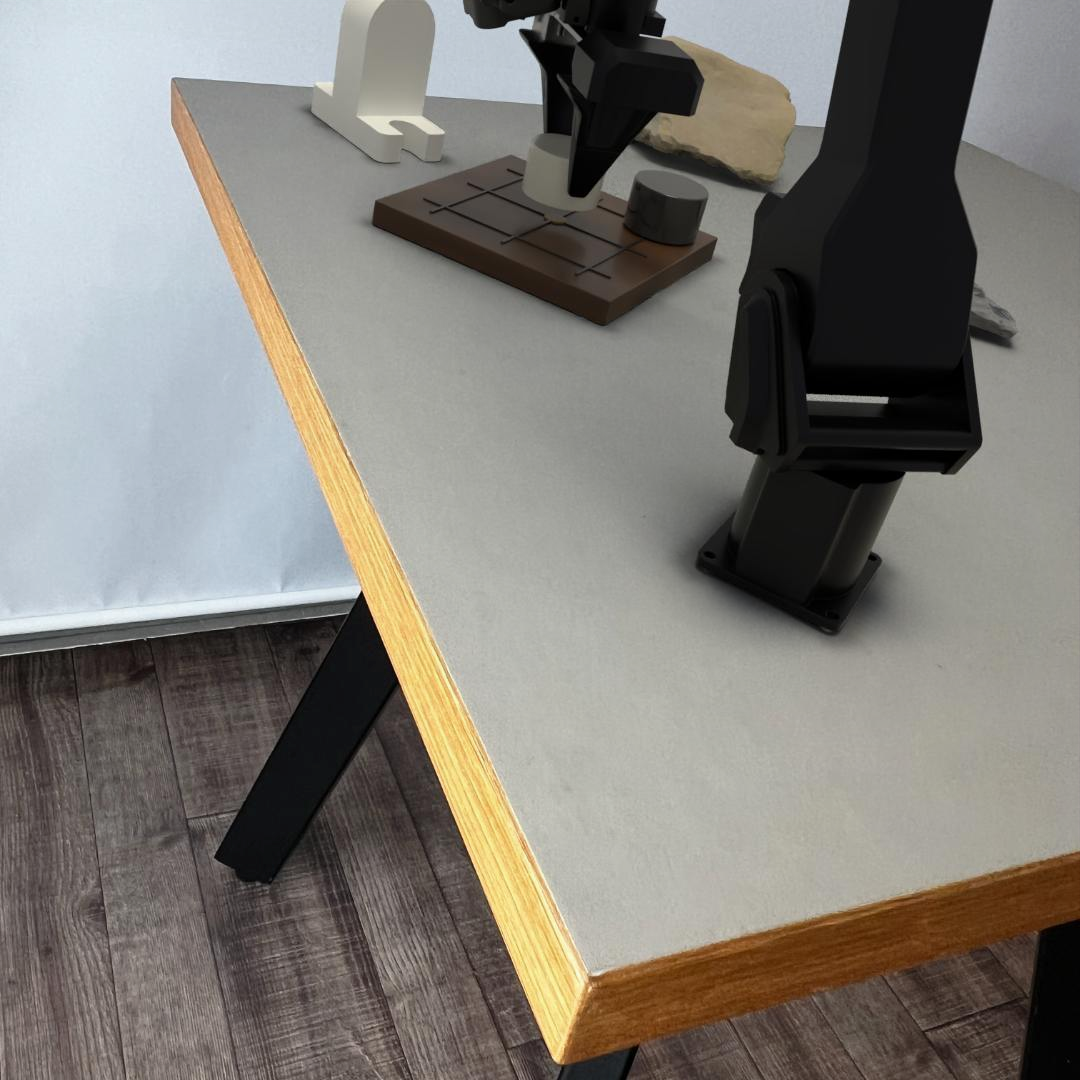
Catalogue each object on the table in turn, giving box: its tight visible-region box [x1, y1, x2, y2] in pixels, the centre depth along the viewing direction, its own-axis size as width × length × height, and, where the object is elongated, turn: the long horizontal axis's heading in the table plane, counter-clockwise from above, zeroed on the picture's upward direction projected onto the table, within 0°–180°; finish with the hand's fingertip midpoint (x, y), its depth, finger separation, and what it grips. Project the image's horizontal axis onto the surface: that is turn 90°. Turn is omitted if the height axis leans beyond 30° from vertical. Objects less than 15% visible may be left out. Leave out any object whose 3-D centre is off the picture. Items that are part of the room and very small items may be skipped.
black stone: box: [623, 169, 710, 245], centre depth 78 cm, size 5×5×3 cm
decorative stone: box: [633, 35, 797, 186], centre depth 97 cm, size 8×14×8 cm, turn 80°
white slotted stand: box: [310, 0, 446, 164], centre depth 84 cm, size 5×10×10 cm, turn 37°
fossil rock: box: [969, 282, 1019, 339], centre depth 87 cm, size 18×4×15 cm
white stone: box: [521, 133, 607, 211], centre depth 75 cm, size 5×5×3 cm
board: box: [371, 154, 719, 326], centre depth 77 cm, size 16×16×2 cm
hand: (564, 180), depth 75 cm, fingers closed on white stone, 5 cm apart
